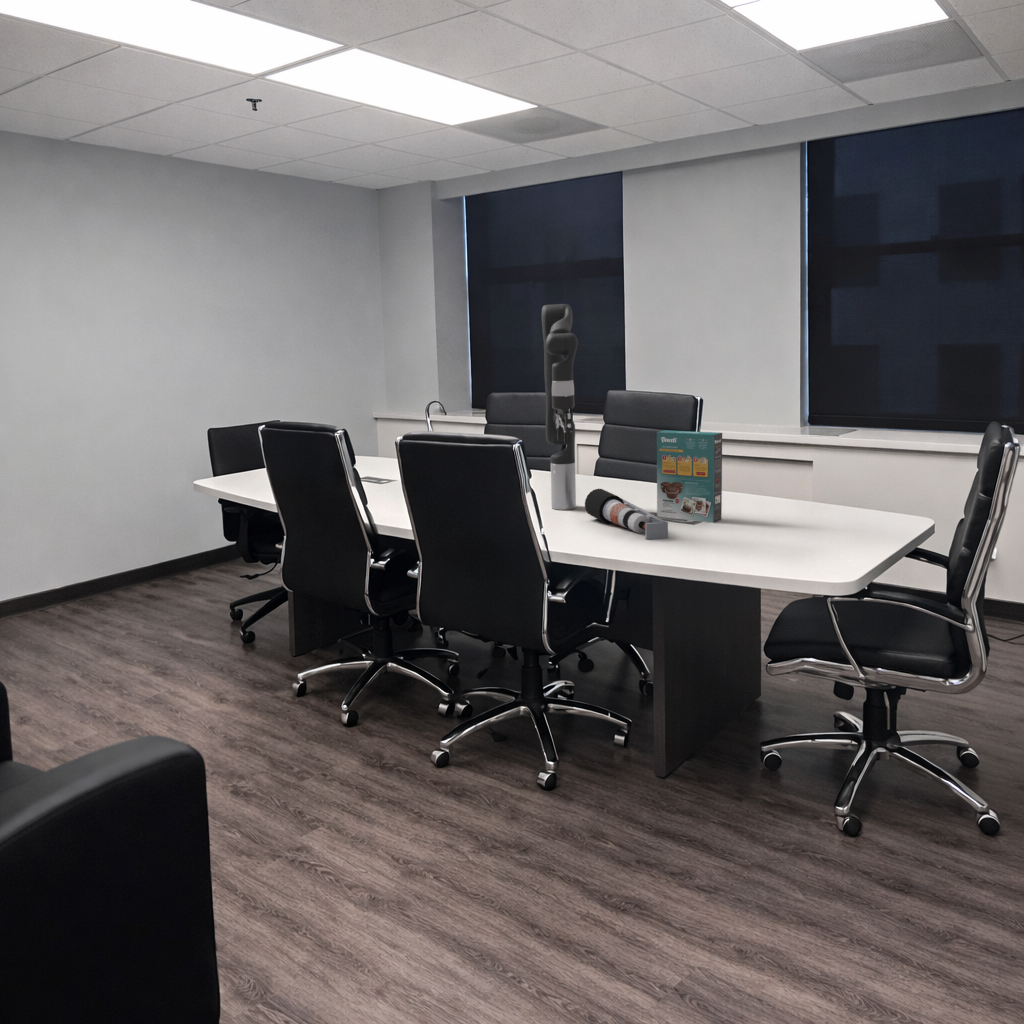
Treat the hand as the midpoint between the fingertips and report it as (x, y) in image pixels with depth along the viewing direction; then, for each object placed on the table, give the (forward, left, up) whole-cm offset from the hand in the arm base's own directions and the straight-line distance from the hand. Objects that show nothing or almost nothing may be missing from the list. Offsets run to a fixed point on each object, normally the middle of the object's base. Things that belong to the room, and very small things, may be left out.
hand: (564, 442), depth 312 cm
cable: (+10, +17, -29) cm, 35 cm away
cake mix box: (+4, +43, -29) cm, 52 cm away
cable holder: (+7, +22, -29) cm, 36 cm away
